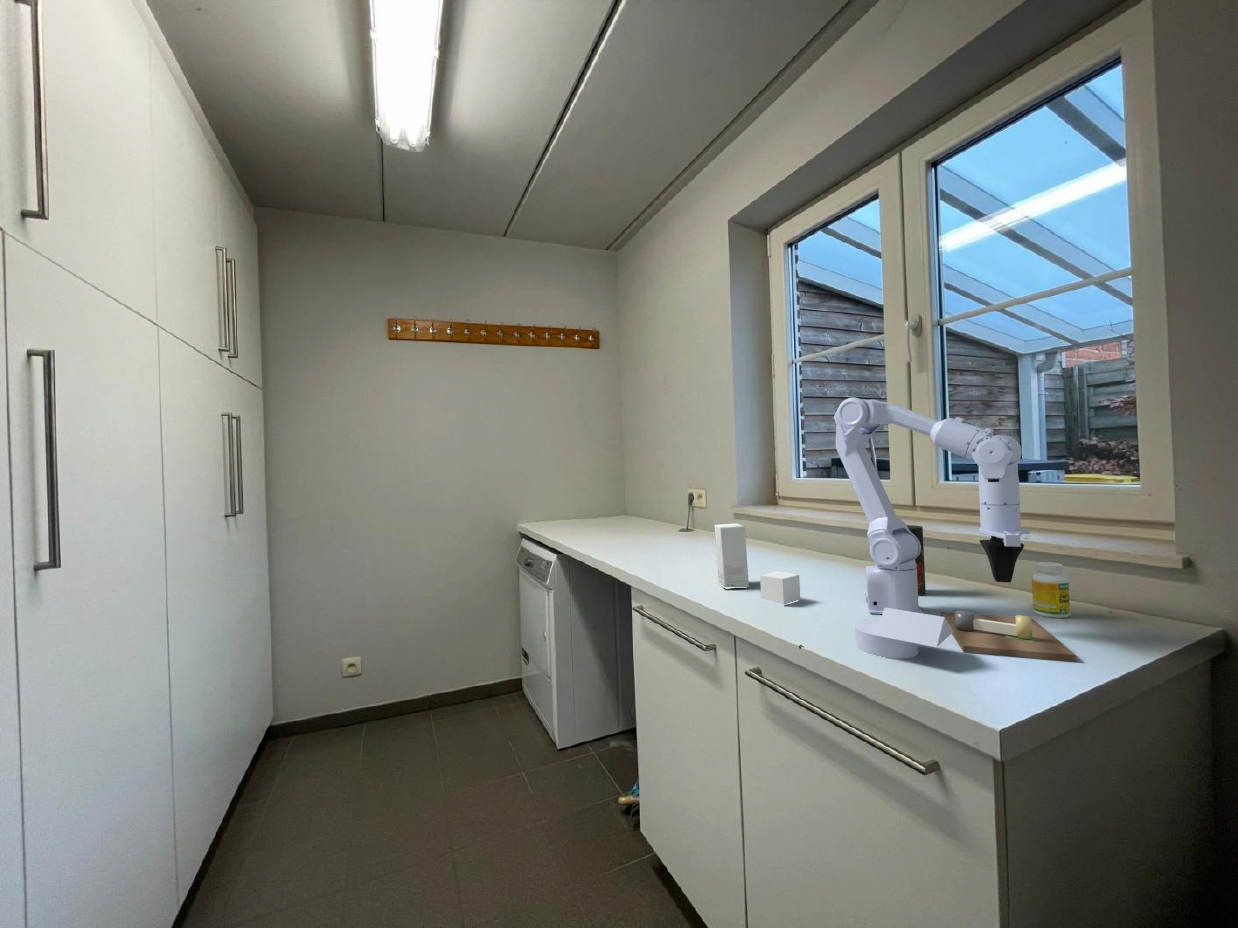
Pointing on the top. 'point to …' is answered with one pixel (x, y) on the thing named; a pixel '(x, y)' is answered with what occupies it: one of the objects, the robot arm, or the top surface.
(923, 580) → the deodorant
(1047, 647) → the dial board
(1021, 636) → the yellow capsule-ended device
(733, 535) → the skincare box
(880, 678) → the top surface
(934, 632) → the wedge on round base
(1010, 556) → the robot arm
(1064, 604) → the supplement bottle
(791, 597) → the white cube
